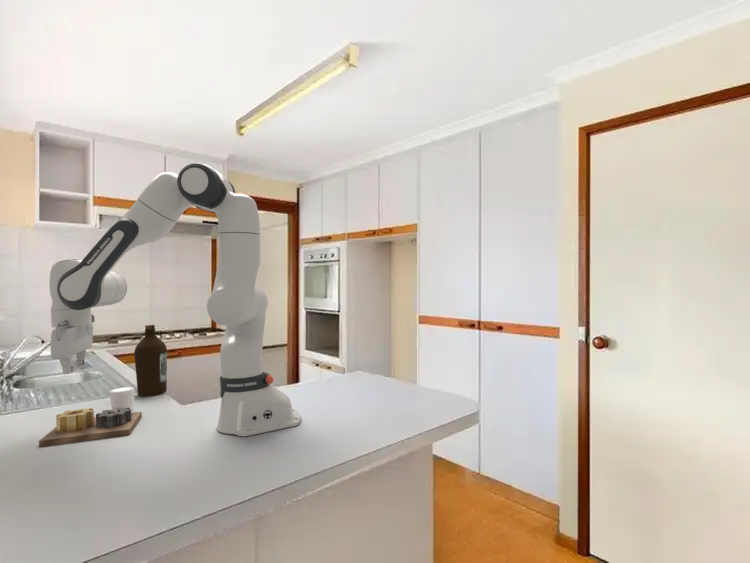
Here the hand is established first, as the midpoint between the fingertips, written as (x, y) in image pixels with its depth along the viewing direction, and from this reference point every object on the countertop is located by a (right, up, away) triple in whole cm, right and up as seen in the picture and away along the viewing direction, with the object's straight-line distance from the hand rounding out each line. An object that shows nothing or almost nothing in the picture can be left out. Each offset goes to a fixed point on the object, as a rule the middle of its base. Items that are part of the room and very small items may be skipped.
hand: (74, 370), depth 114 cm
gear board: (+5, -17, +2) cm, 18 cm away
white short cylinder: (+2, -17, +19) cm, 25 cm away
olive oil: (0, -17, +40) cm, 43 cm away
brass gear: (0, -16, 0) cm, 16 cm away
